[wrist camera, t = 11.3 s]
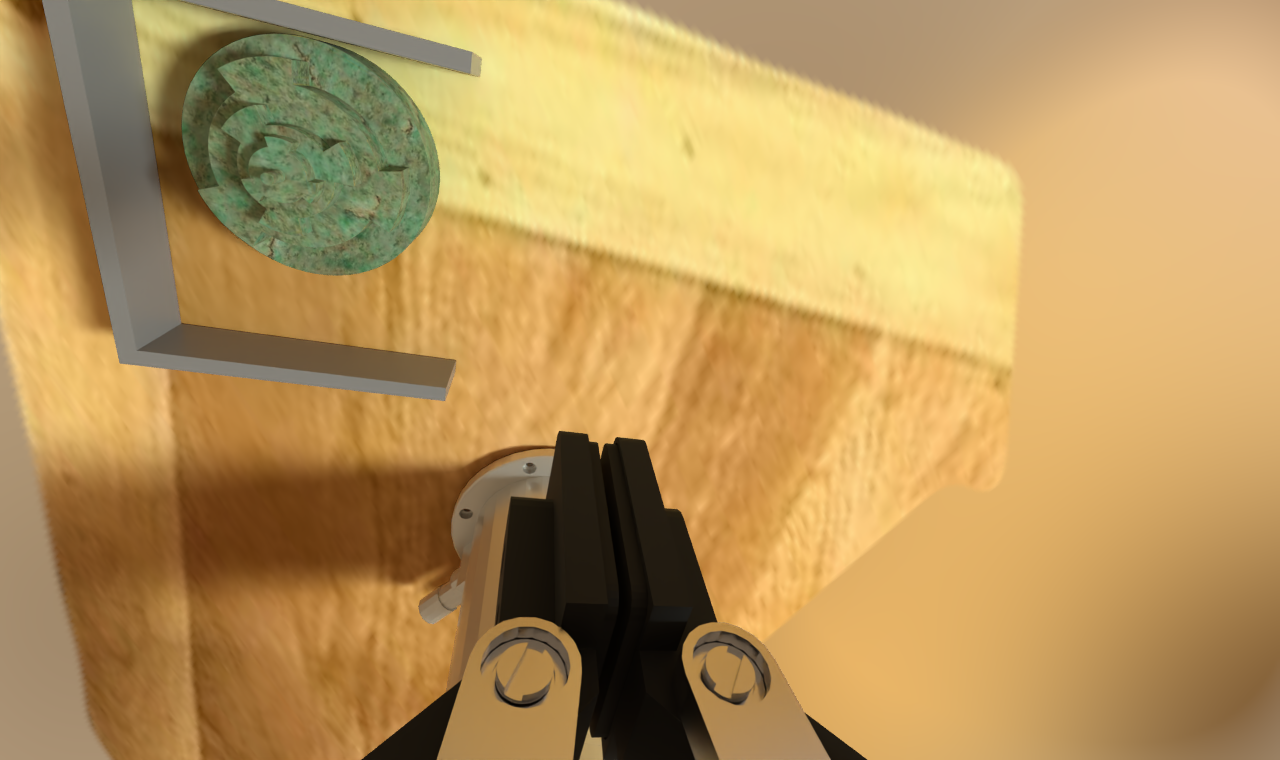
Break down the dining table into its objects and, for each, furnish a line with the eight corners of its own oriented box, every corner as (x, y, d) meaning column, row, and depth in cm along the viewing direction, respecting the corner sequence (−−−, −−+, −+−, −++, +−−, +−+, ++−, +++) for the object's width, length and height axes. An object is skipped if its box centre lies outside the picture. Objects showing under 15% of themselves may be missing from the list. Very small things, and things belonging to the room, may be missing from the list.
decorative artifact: (162, 109, 24) (322, 294, 29) (31, 112, 18) (261, 346, 23) (346, -6, 23) (480, 204, 28) (274, -44, 17) (461, 233, 22)
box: (481, 58, 25) (472, 51, 22) (455, 372, 32) (444, 401, 29) (102, -42, 22) (28, -66, 18) (165, 335, 29) (119, 363, 25)
